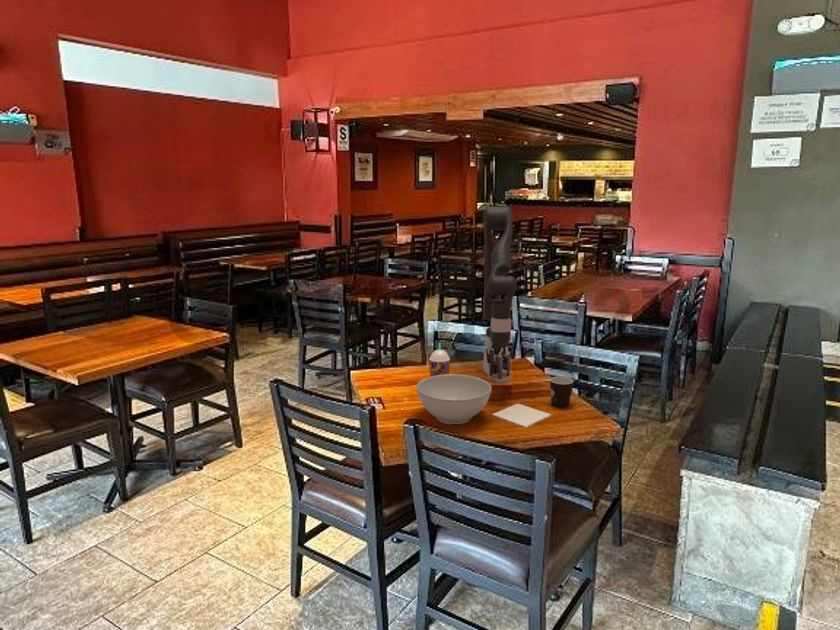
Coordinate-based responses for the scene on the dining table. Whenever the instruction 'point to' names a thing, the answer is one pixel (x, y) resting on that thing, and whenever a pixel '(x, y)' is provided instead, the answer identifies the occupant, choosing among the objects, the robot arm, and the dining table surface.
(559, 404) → the coffee mug
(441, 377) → the decorative bowl
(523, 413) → the mat
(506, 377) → the stool
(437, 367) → the smoothie
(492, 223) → the robot arm
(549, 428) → the dining table surface
